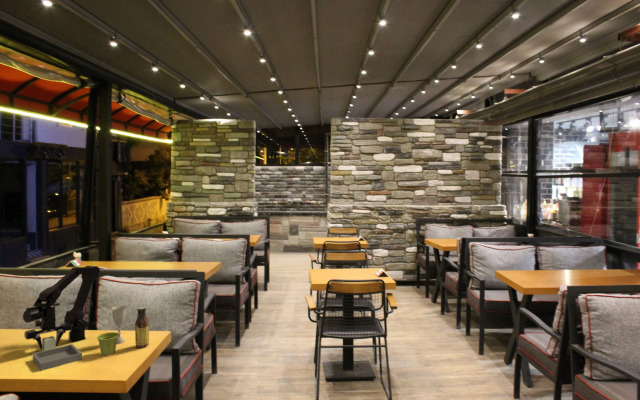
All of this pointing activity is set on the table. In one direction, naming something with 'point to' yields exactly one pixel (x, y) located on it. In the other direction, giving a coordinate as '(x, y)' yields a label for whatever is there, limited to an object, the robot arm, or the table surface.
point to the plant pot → (108, 343)
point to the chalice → (119, 320)
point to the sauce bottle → (141, 328)
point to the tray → (56, 357)
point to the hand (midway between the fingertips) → (48, 347)
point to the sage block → (48, 343)
